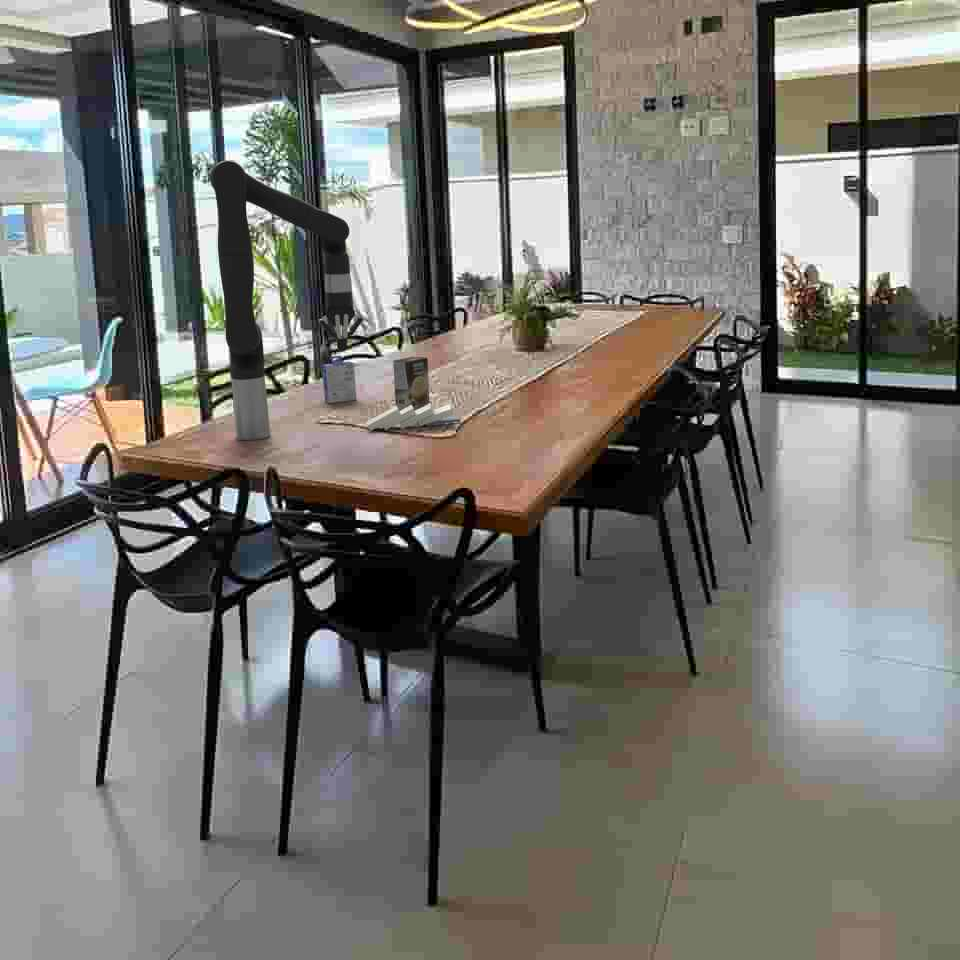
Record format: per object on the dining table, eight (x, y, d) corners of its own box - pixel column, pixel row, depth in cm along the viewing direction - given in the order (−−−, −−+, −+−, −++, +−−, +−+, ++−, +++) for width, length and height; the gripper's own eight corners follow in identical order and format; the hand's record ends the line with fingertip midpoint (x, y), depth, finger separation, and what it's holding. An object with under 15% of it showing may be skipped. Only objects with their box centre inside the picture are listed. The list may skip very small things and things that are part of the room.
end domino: (423, 424, 320) (456, 421, 323) (427, 428, 315) (460, 424, 318) (422, 418, 320) (455, 415, 322) (426, 422, 315) (460, 418, 317)
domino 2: (382, 424, 312) (413, 408, 312) (381, 421, 317) (411, 404, 317) (385, 430, 313) (416, 413, 313) (384, 426, 317) (414, 410, 317)
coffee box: (410, 414, 332) (407, 362, 327) (395, 412, 336) (392, 360, 331) (430, 409, 339) (428, 357, 334) (415, 407, 343) (412, 356, 338)
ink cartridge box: (352, 397, 362) (349, 353, 358) (357, 400, 357) (354, 355, 354) (323, 401, 358) (320, 357, 354) (328, 403, 354) (325, 359, 350)
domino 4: (418, 420, 313) (451, 408, 312) (418, 415, 318) (450, 403, 317) (420, 426, 314) (453, 414, 313) (420, 420, 318) (452, 409, 318)
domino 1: (367, 425, 312) (398, 408, 312) (365, 422, 316) (396, 405, 317) (370, 431, 312) (401, 414, 312) (368, 427, 317) (399, 411, 317)
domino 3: (399, 423, 312) (430, 408, 311) (400, 418, 317) (430, 402, 316) (402, 428, 313) (433, 413, 312) (403, 423, 318) (433, 408, 316)
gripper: (317, 292, 304) (321, 354, 308) (364, 289, 307) (368, 351, 312) (313, 290, 310) (317, 351, 315) (359, 287, 314) (362, 347, 319)
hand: (342, 351), depth 314 cm, fingers closed
